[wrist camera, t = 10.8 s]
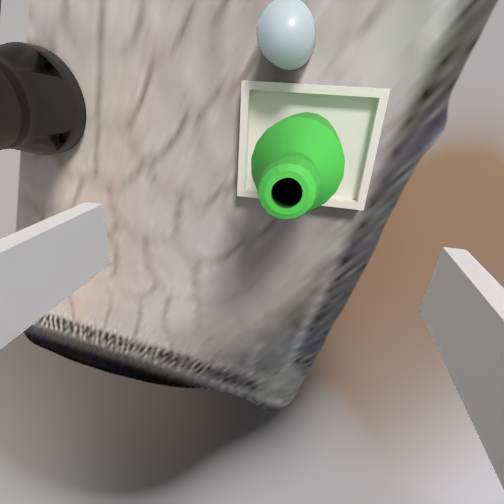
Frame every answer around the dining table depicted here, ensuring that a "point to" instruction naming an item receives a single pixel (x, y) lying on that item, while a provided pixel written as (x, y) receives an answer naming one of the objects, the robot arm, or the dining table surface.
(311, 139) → the bottle
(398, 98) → the dining table surface
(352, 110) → the tray
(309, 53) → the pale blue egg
